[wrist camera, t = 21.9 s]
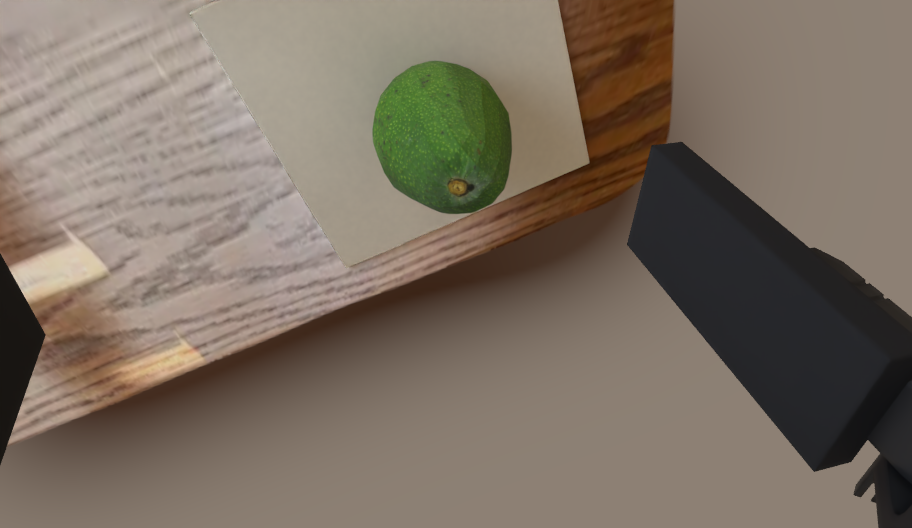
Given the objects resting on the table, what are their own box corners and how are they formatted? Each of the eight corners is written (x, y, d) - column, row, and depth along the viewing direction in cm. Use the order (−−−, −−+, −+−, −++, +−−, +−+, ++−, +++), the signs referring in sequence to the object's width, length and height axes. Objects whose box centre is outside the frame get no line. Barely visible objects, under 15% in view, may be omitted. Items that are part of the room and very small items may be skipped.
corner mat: (345, 264, 46) (346, 268, 46) (189, 11, 33) (189, 14, 33) (587, 160, 46) (589, 163, 46) (528, -137, 33) (531, -136, 32)
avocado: (429, 9, 36) (491, 90, 27) (504, 99, 41) (578, 192, 32) (334, 102, 38) (362, 206, 29) (416, 176, 42) (462, 285, 33)
